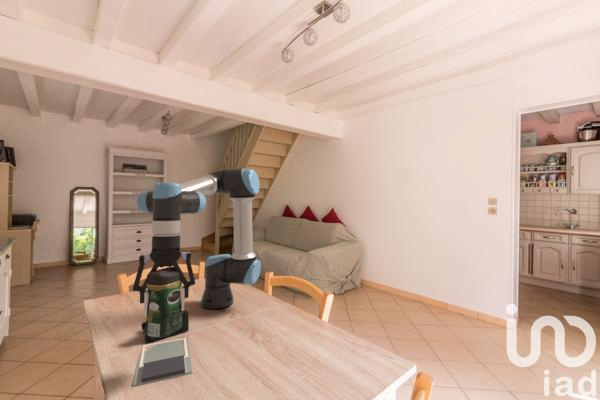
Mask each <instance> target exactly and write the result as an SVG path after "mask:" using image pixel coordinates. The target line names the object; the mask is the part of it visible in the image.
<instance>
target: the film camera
mask: <svg viewBox="0 0 600 400" xmlns="http://www.w3.org/2000/svg"><path fill="white" fill-rule="evenodd" d="M189 321H190V320H189V311H187V310H186V309H184V311H182V327H181V328H180V329H179V330H178V331H176V332H174V333H173V334H171V335H169V336H166V337H164V338H151V337H148V336H147V335H146V334H145V329H146V321H144V322H142V323H141V330H142V336H143V335H144V343H145V345H148V344H154V343H157V342H159V341H162V340H165V339H168V338H172V337H175V336H178V335H182V334H185V333H187V332H189V327H190V325H189Z"/></svg>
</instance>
